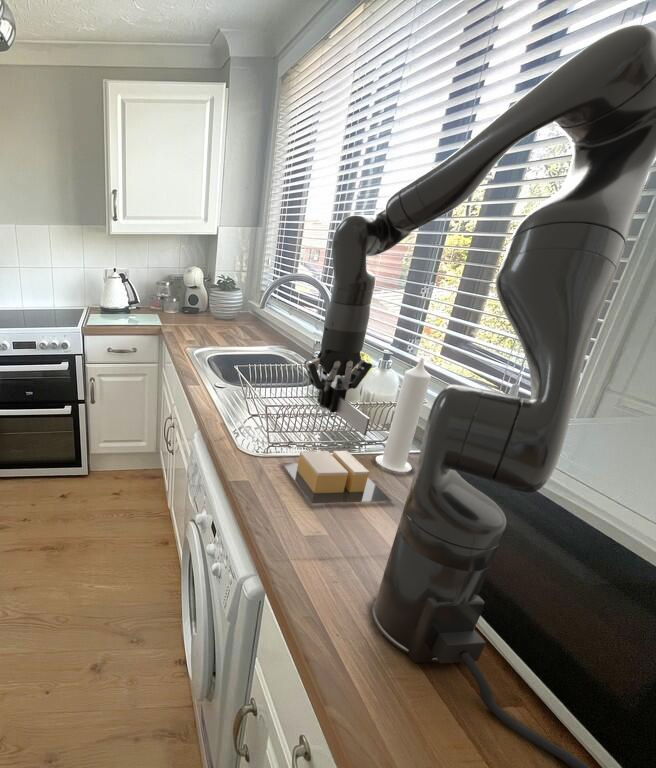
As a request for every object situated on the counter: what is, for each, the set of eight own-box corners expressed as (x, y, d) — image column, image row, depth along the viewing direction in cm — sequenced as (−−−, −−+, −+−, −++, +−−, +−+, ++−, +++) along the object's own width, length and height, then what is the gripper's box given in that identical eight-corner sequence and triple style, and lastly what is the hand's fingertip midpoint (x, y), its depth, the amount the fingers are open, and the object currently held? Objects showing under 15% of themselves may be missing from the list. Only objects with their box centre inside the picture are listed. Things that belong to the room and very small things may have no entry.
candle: (367, 460, 93) (393, 354, 84) (391, 455, 96) (419, 351, 87) (393, 477, 87) (425, 364, 78) (418, 472, 89) (452, 362, 80)
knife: (317, 400, 90) (321, 379, 88) (327, 400, 90) (332, 379, 88) (358, 436, 75) (364, 411, 73) (371, 435, 75) (377, 410, 73)
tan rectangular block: (343, 492, 80) (348, 472, 79) (314, 493, 80) (318, 473, 78) (323, 469, 88) (327, 450, 86) (296, 470, 87) (300, 451, 86)
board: (391, 504, 78) (392, 500, 78) (310, 507, 77) (311, 503, 77) (351, 464, 92) (351, 461, 91) (281, 466, 90) (281, 463, 90)
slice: (364, 491, 81) (369, 471, 79) (349, 492, 80) (354, 472, 79) (342, 469, 88) (347, 450, 86) (329, 469, 88) (333, 450, 86)
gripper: (368, 321, 85) (351, 398, 91) (302, 321, 84) (290, 399, 90) (391, 330, 78) (371, 413, 84) (320, 330, 77) (305, 414, 83)
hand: (329, 405), depth 87 cm, fingers closed on knife, 2 cm apart
